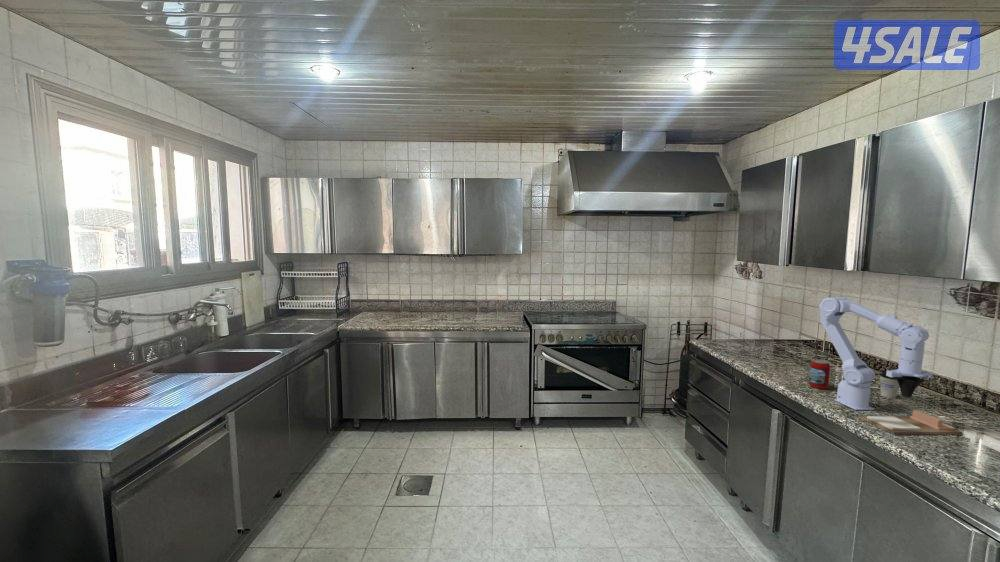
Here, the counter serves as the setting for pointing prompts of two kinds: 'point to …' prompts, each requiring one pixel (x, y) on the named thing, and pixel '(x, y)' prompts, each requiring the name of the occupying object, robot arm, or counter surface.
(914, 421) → the board
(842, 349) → the robot arm
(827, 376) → the beverage can
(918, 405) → the counter surface
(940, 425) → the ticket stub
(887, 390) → the coffee cup
